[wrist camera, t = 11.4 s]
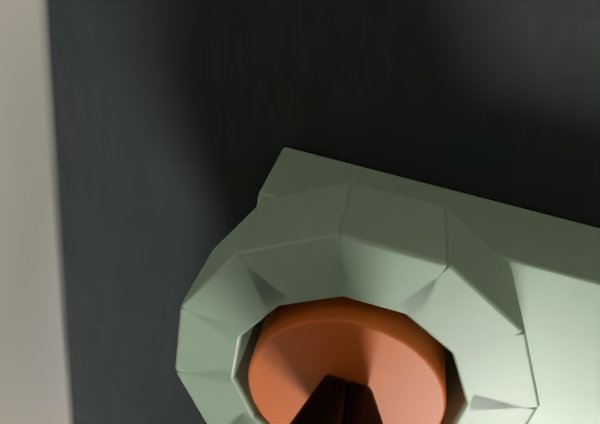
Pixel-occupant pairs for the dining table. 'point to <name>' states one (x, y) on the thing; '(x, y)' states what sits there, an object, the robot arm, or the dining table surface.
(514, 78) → the dining table surface
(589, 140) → the dining table surface
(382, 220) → the housing
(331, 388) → the robot arm
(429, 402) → the button
